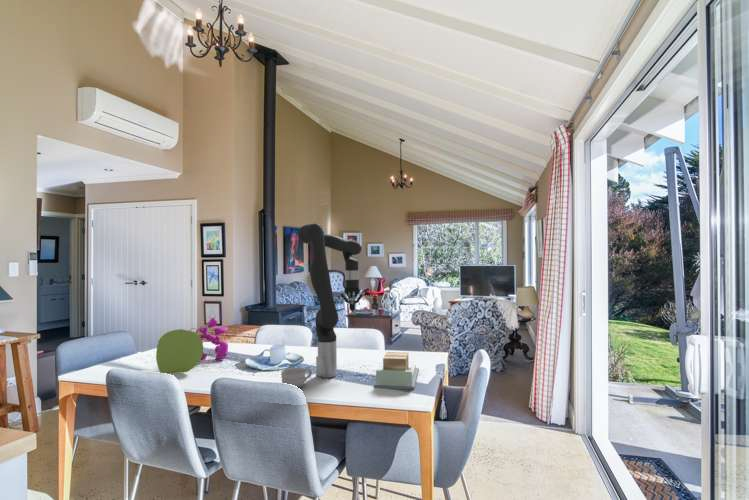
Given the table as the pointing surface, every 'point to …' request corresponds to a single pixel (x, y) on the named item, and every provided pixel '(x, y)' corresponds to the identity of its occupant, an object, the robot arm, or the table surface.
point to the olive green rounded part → (188, 348)
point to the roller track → (396, 378)
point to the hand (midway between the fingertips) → (352, 310)
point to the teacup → (295, 376)
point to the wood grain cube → (395, 361)
